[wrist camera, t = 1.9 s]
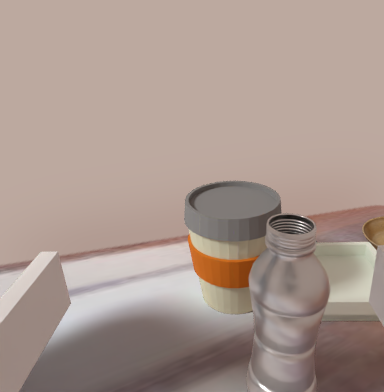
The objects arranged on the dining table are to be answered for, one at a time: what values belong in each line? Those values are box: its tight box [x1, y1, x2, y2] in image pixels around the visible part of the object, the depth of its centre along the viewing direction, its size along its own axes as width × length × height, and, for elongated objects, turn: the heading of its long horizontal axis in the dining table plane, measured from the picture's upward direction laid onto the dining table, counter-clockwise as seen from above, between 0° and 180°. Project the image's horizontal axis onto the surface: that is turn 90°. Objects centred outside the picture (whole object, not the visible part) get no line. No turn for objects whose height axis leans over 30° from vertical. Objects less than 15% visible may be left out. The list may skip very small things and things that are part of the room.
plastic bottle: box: [246, 213, 331, 392], centre depth 30 cm, size 6×7×20 cm
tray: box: [314, 242, 380, 321], centre depth 49 cm, size 12×14×3 cm
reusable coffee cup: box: [184, 181, 281, 314], centre depth 47 cm, size 13×13×15 cm
